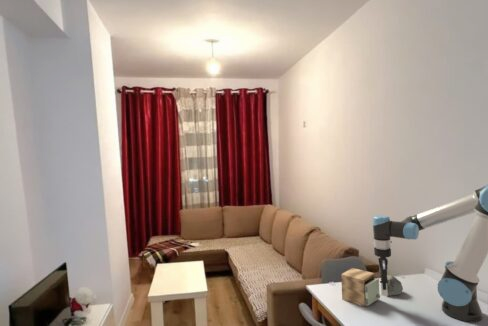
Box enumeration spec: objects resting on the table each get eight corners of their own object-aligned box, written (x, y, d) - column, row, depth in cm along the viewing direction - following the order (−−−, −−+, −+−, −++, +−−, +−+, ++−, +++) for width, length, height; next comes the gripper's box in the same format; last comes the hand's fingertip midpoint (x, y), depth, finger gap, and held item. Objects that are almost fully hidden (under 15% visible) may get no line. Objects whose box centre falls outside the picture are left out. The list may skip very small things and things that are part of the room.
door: (381, 298, 155) (381, 279, 155) (369, 307, 147) (368, 286, 147) (377, 297, 157) (376, 278, 157) (364, 305, 149) (364, 285, 149)
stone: (396, 277, 158) (390, 270, 168) (380, 289, 160) (376, 281, 170) (409, 292, 157) (402, 283, 167) (393, 303, 159) (388, 294, 169)
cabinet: (375, 298, 158) (374, 273, 158) (364, 306, 150) (363, 280, 150) (353, 291, 167) (352, 267, 166) (342, 299, 158) (341, 274, 158)
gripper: (392, 251, 143) (394, 302, 143) (389, 244, 155) (391, 290, 155) (374, 250, 145) (377, 300, 145) (373, 243, 157) (375, 288, 158)
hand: (384, 295), depth 150 cm, fingers closed
